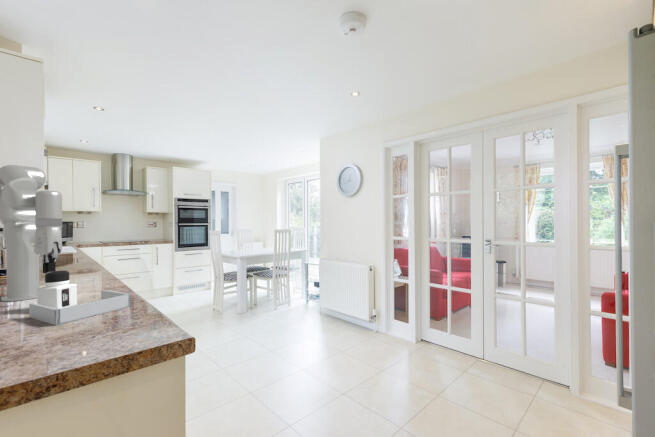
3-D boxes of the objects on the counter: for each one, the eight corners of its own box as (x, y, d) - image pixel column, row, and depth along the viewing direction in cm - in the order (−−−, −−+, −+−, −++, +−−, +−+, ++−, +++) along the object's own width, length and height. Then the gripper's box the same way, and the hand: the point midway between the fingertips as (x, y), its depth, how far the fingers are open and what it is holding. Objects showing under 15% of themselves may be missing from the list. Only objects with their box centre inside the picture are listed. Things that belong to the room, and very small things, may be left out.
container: (77, 304, 113) (76, 269, 113) (57, 310, 105) (56, 272, 105) (58, 305, 114) (57, 269, 114) (36, 311, 106) (36, 273, 106)
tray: (29, 317, 99) (29, 303, 99) (104, 301, 119) (104, 289, 119) (56, 325, 91) (56, 310, 91) (131, 306, 111) (131, 294, 111)
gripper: (26, 224, 116) (26, 273, 116) (46, 223, 109) (46, 275, 109) (51, 223, 122) (51, 270, 122) (71, 223, 116) (71, 272, 116)
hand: (49, 272), depth 116 cm, fingers closed
